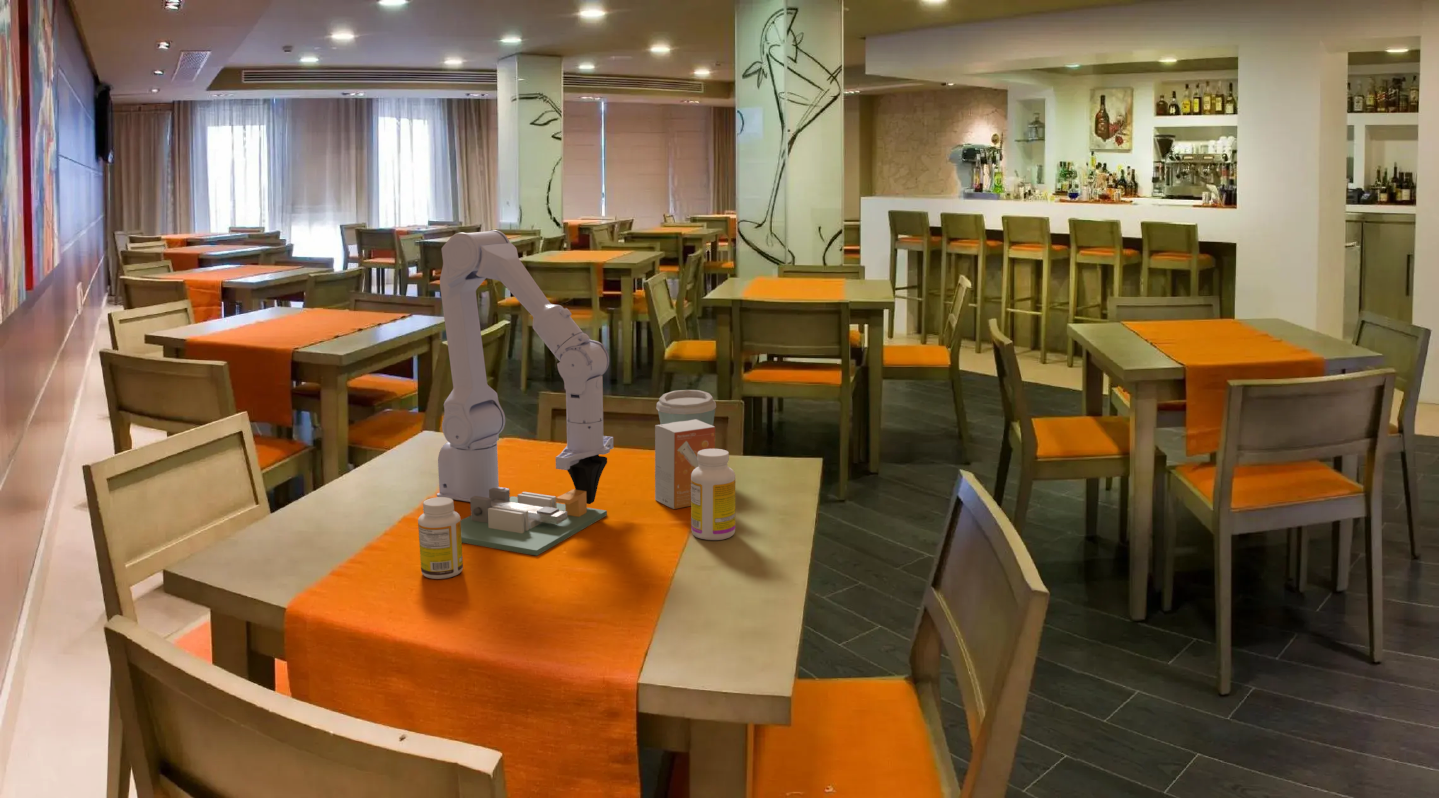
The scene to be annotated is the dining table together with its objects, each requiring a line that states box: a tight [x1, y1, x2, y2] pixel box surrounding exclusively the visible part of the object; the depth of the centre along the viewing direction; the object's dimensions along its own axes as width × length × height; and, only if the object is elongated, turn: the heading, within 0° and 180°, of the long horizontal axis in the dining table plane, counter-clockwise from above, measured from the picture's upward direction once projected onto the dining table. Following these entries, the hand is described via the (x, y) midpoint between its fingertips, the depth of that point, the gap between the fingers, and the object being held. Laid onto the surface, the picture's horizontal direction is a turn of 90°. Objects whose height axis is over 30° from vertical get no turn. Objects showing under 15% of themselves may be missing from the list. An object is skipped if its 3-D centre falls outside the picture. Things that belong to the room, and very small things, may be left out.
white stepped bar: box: [491, 499, 567, 524], centre depth 166 cm, size 13×3×2 cm, turn 66°
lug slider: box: [556, 488, 588, 517], centre depth 168 cm, size 2×5×4 cm, turn 156°
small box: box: [654, 419, 716, 510], centre depth 178 cm, size 8×6×13 cm
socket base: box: [460, 488, 608, 557], centre depth 166 cm, size 18×20×4 cm
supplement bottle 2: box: [690, 448, 736, 541], centre depth 162 cm, size 7×7×13 cm
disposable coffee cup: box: [655, 389, 717, 426], centre depth 192 cm, size 11×11×15 cm
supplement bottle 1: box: [417, 496, 464, 580], centre depth 146 cm, size 6×6×10 cm
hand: (586, 502), depth 172 cm, fingers closed
